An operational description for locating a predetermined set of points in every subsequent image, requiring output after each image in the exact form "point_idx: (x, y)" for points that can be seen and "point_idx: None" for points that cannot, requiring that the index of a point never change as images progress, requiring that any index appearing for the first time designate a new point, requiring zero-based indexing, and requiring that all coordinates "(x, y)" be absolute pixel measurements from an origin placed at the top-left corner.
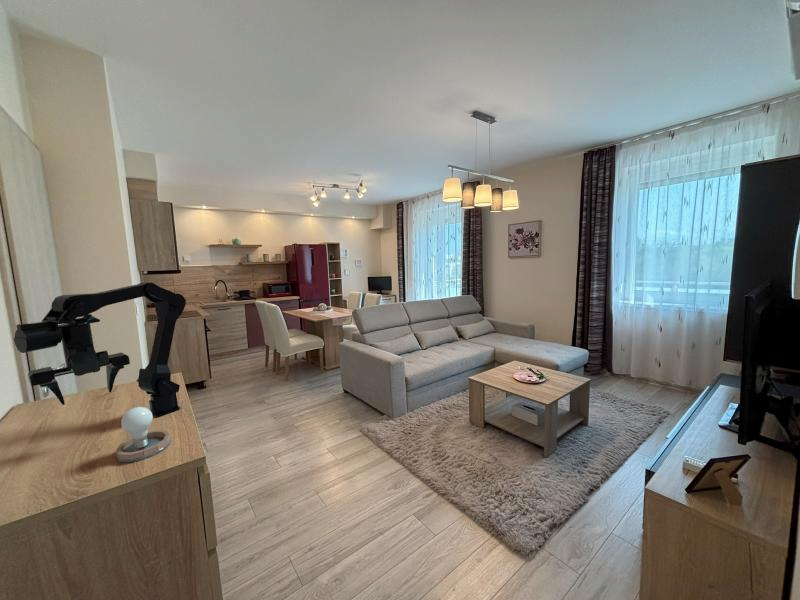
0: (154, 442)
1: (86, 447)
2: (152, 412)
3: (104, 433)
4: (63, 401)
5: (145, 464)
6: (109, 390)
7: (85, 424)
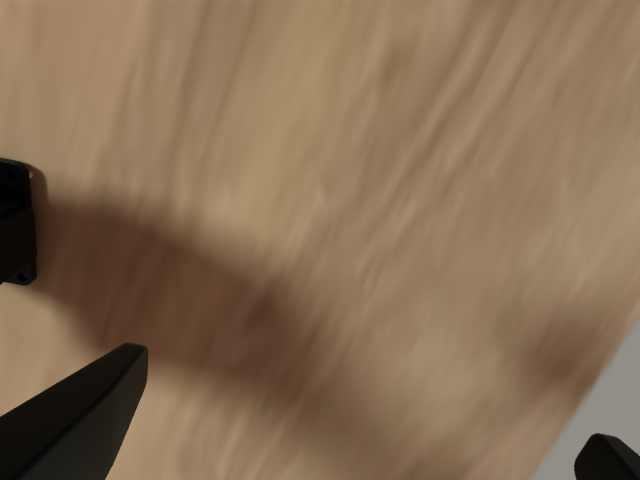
0: None
1: (403, 179)
2: (28, 224)
3: (283, 260)
4: (633, 467)
5: None
6: (133, 359)
7: (284, 440)
